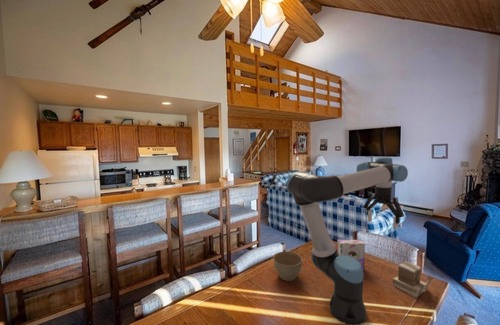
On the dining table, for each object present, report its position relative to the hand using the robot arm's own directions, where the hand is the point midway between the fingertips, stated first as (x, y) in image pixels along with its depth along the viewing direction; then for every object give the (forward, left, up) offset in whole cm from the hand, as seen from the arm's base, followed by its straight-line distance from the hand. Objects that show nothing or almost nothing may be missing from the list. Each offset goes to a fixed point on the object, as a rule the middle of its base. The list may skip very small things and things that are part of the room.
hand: (381, 225), depth 121 cm
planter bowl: (-41, +29, -31) cm, 59 cm away
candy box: (-3, +16, -31) cm, 35 cm away
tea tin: (+6, -12, -27) cm, 30 cm away
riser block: (+6, -12, -31) cm, 34 cm away
